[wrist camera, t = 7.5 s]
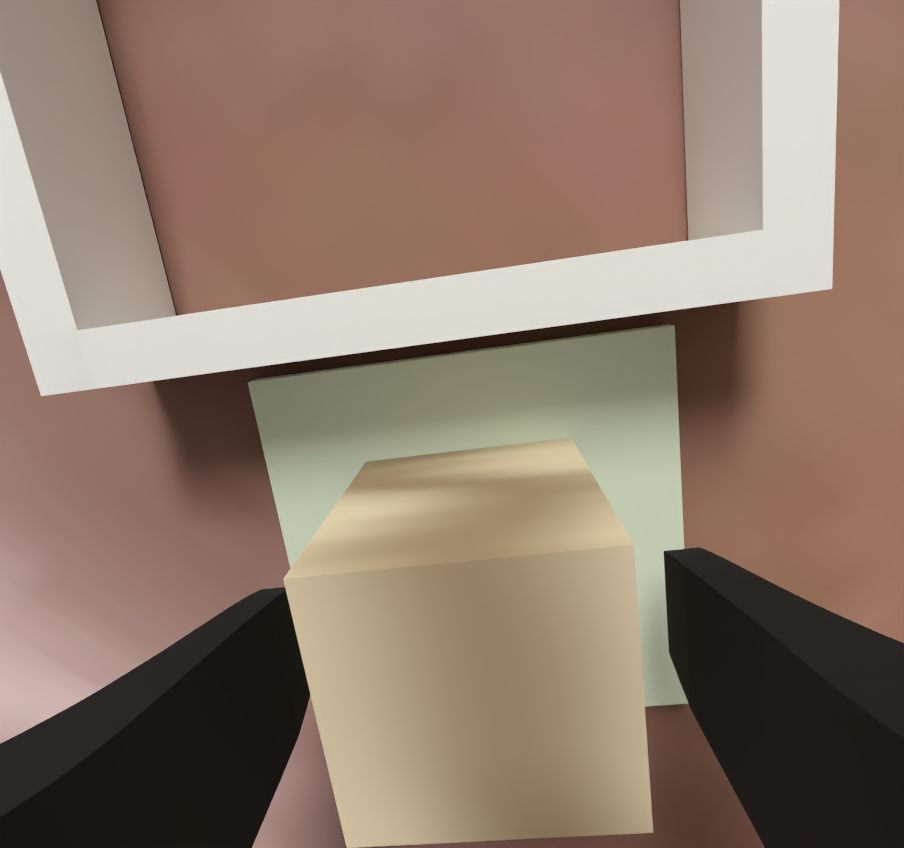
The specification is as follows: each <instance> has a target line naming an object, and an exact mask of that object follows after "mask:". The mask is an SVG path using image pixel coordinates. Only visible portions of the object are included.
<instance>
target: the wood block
mask: <svg viewBox="0 0 904 848" xmlns="http://www.w3.org/2000/svg"><path fill="white" fill-rule="evenodd" d="M283 580H284V585H285V589H286V593H287V597H288V602H289V606H290V610H291V614H292V619H293V623H294V627H295V631H296V636H297V640H298V644H299V648H300V652H301V657H302V661H303V665H304V669H305V674H306V678H307V682H308V686H309V691H310V695H311V699H312V703H313V708H314V712H315V716H316V720H317V724H318V729H319V733H320V737H321V741H322V746H323V750H324V754H325V758H326V763H327V767H328V771H329V775H330V780H331V784H332V788H333V792H334V797H335V801H336V805H337V809H338V813H339V818H340V822H341V826H342V830H343V835H344V839H345V843H346V847H347V848H357V847H377V846H397V845H417V844H437V843H457V842H477V841H497V840H517V839H537V838H558V837H578V836H598V835H618V834H638V833H653V821H652V807H651V792H650V777H649V762H648V747H647V732H646V717H645V702H644V688H643V673H642V658H641V643H640V628H639V613H638V598H637V583H636V568H635V554H634V544H633V542H632V541H631V539H630V537H629V536H628V534H627V532H626V530H625V529H624V527H623V525H622V524H621V522H620V520H619V518H618V517H617V515H616V513H615V512H614V510H613V508H612V507H611V505H610V503H609V501H608V500H607V498H606V496H605V495H604V493H603V491H602V490H601V488H600V486H599V484H598V483H597V481H596V479H595V478H594V476H593V474H592V472H591V471H590V469H589V467H588V466H587V464H586V462H585V461H584V459H583V457H582V455H581V454H580V452H579V450H578V449H577V447H576V445H575V444H574V442H573V440H572V438H562V439H554V440H545V441H537V442H528V443H520V444H511V445H503V446H494V447H486V448H477V449H469V450H461V451H452V452H444V453H435V454H427V455H418V456H410V457H401V458H393V459H384V460H376V461H367V462H365V464H364V465H363V467H362V468H361V469H360V471H359V472H358V474H357V475H356V476H355V478H354V479H353V481H352V482H351V484H350V485H349V486H348V488H347V489H346V491H345V492H344V494H343V495H342V496H341V498H340V499H339V501H338V502H337V503H336V505H335V506H334V508H333V509H332V511H331V512H330V513H329V515H328V516H327V518H326V519H325V521H324V522H323V523H322V525H321V526H320V528H319V529H318V530H317V532H316V533H315V535H314V536H313V538H312V539H311V540H310V542H309V543H308V545H307V546H306V548H305V549H304V550H303V552H302V553H301V555H300V556H299V558H298V559H297V560H296V562H295V563H294V565H293V566H292V567H291V569H290V570H289V572H288V573H287V575H286V576H285V577H284V579H283Z"/></svg>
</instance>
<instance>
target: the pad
mask: <svg viewBox="0 0 904 848" xmlns="http://www.w3.org/2000/svg"><path fill="white" fill-rule="evenodd" d="M248 386H249V391H250V395H251V399H252V404H253V408H254V412H255V417H256V421H257V425H258V430H259V434H260V438H261V443H262V447H263V451H264V456H265V460H266V464H267V469H268V473H269V477H270V482H271V486H272V491H273V495H274V499H275V504H276V508H277V512H278V517H279V521H280V525H281V530H282V534H283V538H284V543H285V547H286V551H287V556H288V560H289V564H290V569H291V567H292V566H293V565H294V563H295V562H296V560H297V559H298V558H299V556H300V555H301V553H302V552H303V550H304V549H305V548H306V546H307V545H308V543H309V542H310V540H311V539H312V538H313V536H314V535H315V533H316V532H317V530H318V529H319V528H320V526H321V525H322V523H323V522H324V521H325V519H326V518H327V516H328V515H329V513H330V512H331V511H332V509H333V508H334V506H335V505H336V503H337V502H338V501H339V499H340V498H341V496H342V495H343V494H344V492H345V491H346V489H347V488H348V486H349V485H350V484H351V482H352V481H353V479H354V478H355V476H356V475H357V474H358V472H359V471H360V469H361V468H362V467H363V465H364V464H365V462H367V461H376V460H384V459H393V458H401V457H410V456H418V455H427V454H435V453H444V452H452V451H461V450H469V449H477V448H486V447H494V446H503V445H511V444H520V443H528V442H537V441H545V440H554V439H562V438H572V440H573V442H574V444H575V445H576V447H577V449H578V450H579V452H580V454H581V455H582V457H583V459H584V461H585V462H586V464H587V466H588V467H589V469H590V471H591V472H592V474H593V476H594V478H595V479H596V481H597V483H598V484H599V486H600V488H601V490H602V491H603V493H604V495H605V496H606V498H607V500H608V501H609V503H610V505H611V507H612V508H613V510H614V512H615V513H616V515H617V517H618V518H619V520H620V522H621V524H622V525H623V527H624V529H625V530H626V532H627V534H628V536H629V537H630V539H631V541H632V542H633V544H634V554H635V568H636V583H637V598H638V613H639V628H640V643H641V658H642V673H643V688H644V702H645V707H646V706H660V705H674V704H689V703H688V701H687V698H686V696H685V693H684V691H683V688H682V686H681V683H680V681H679V678H678V675H677V673H676V670H675V667H674V665H673V662H672V660H671V657H670V654H669V646H668V626H667V607H666V588H665V569H664V551H669V550H679V549H684V534H683V510H682V486H681V462H680V439H679V415H678V391H677V367H676V344H675V326H674V325H669V324H664V325H656V326H649V327H641V328H634V329H626V330H619V331H611V332H604V333H596V334H589V335H581V336H574V337H566V338H559V339H551V340H544V341H536V342H529V343H521V344H514V345H506V346H499V347H491V348H484V349H476V350H469V351H461V352H454V353H446V354H439V355H431V356H424V357H417V358H409V359H402V360H394V361H387V362H379V363H372V364H364V365H357V366H349V367H342V368H334V369H327V370H319V371H312V372H304V373H297V374H289V375H282V376H274V377H267V378H259V379H255V380H253V381H250V382H248Z"/></svg>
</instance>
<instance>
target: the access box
mask: <svg viewBox="0 0 904 848" xmlns="http://www.w3.org/2000/svg"><path fill="white" fill-rule="evenodd" d="M680 19H681V48H682V76H683V105H684V133H685V162H686V190H687V219H688V241H682V242H675V243H668V244H662V245H655V246H648V247H641V248H634V249H628V250H621V251H614V252H607V253H600V254H594V255H587V256H580V257H573V258H566V259H559V260H553V261H546V262H539V263H532V264H525V265H519V266H512V267H505V268H498V269H491V270H485V271H478V272H471V273H464V274H457V275H451V276H444V277H437V278H430V279H423V280H416V281H410V282H403V283H396V284H389V285H382V286H376V287H369V288H362V289H355V290H348V291H342V292H335V293H328V294H321V295H314V296H308V297H301V298H294V299H287V300H280V301H274V302H267V303H260V304H253V305H246V306H239V307H233V308H226V309H219V310H212V311H205V312H199V313H192V314H185V315H178V316H176V313H175V309H174V305H173V301H172V297H171V293H170V289H169V285H168V282H167V278H166V274H165V270H164V266H163V262H162V258H161V254H160V250H159V246H158V242H157V238H156V234H155V230H154V226H153V222H152V218H151V215H150V211H149V207H148V203H147V199H146V195H145V191H144V187H143V183H142V179H141V175H140V171H139V167H138V163H137V159H136V155H135V152H134V148H133V144H132V140H131V136H130V132H129V128H128V124H127V120H126V116H125V112H124V108H123V104H122V100H121V96H120V92H119V88H118V85H117V81H116V77H115V73H114V69H113V65H112V61H111V57H110V53H109V49H108V45H107V41H106V37H105V33H104V29H103V25H102V22H101V18H100V14H99V10H98V6H97V2H96V0H0V270H1V273H2V276H3V279H4V282H5V285H6V288H7V291H8V295H9V298H10V301H11V304H12V307H13V310H14V313H15V316H16V319H17V322H18V326H19V329H20V332H21V335H22V338H23V341H24V344H25V347H26V350H27V353H28V357H29V360H30V363H31V366H32V369H33V372H34V375H35V378H36V381H37V385H38V388H39V391H40V394H41V396H46V395H53V394H61V393H68V392H75V391H83V390H90V389H97V388H105V387H112V386H119V385H127V384H134V383H142V382H149V381H156V380H164V379H171V378H178V377H186V376H193V375H201V374H208V373H215V372H223V371H230V370H237V369H245V368H252V367H260V366H267V365H274V364H282V363H289V362H296V361H304V360H311V359H319V358H326V357H333V356H341V355H348V354H355V353H363V352H370V351H378V350H385V349H392V348H400V347H407V346H414V345H422V344H429V343H437V342H444V341H451V340H459V339H466V338H473V337H481V336H488V335H496V334H503V333H510V332H518V331H525V330H532V329H540V328H547V327H554V326H562V325H569V324H577V323H584V322H591V321H599V320H606V319H613V318H621V317H628V316H636V315H643V314H650V313H658V312H665V311H672V310H680V309H687V308H695V307H702V306H709V305H717V304H724V303H731V302H739V301H746V300H754V299H761V298H768V297H776V296H783V295H790V294H798V293H805V292H813V291H820V290H827V289H832V275H833V234H834V194H835V153H836V113H837V72H838V32H839V0H680Z"/></svg>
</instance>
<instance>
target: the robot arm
mask: <svg viewBox="0 0 904 848" xmlns="http://www.w3.org/2000/svg"><path fill="white" fill-rule="evenodd" d="M664 569H665V588H666V607H667V626H668V646H669V654H670V657H671V660H672V662H673V665H674V667H675V670H676V673H677V675H678V678H679V681H680V683H681V686H682V688H683V691H684V693H685V696H686V698H687V701H688V703H689V706H690V708H691V710H692V712H693V714H694V716H695V718H696V720H697V722H698V723H699V725H700V727H701V729H702V731H703V733H704V735H705V737H706V739H707V740H708V742H709V744H710V746H711V748H712V750H713V752H714V754H715V755H716V757H717V759H718V761H719V763H720V765H721V767H722V768H723V770H724V772H725V774H726V776H727V778H728V780H729V781H730V783H731V785H732V787H733V789H734V791H735V793H736V794H737V796H738V798H739V800H740V802H741V804H742V806H743V807H744V809H745V811H746V813H747V815H748V817H749V819H750V820H751V822H752V824H753V826H754V828H755V830H756V832H757V833H758V835H759V837H760V839H761V841H762V843H763V845H764V847H765V848H904V643H902V642H899V641H897V640H894V639H892V638H889V637H887V636H885V635H882V634H880V633H878V632H875V631H873V630H871V629H868V628H866V627H864V626H862V625H859V624H857V623H855V622H853V621H850V620H848V619H846V618H844V617H841V616H839V615H837V614H835V613H832V612H830V611H828V610H826V609H824V608H822V607H820V606H818V605H815V604H813V603H811V602H809V601H807V600H805V599H803V598H801V597H799V596H797V595H795V594H793V593H791V592H789V591H787V590H785V589H783V588H781V587H779V586H777V585H775V584H773V583H771V582H769V581H767V580H765V579H763V578H761V577H759V576H757V575H755V574H753V573H751V572H749V571H747V570H746V569H744V568H742V567H740V566H738V565H736V564H734V563H732V562H730V561H728V560H726V559H724V558H722V557H720V556H718V555H716V554H714V553H711V552H709V551H707V550H704V549H702V548H690V549H679V550H669V551H664ZM309 697H310V691H309V686H308V682H307V678H306V674H305V669H304V665H303V661H302V657H301V652H300V648H299V644H298V640H297V636H296V631H295V627H294V623H293V619H292V614H291V610H290V606H289V602H288V597H287V593H286V589H285V587H282V588H272V589H261V590H259V591H257V592H255V593H253V594H251V595H249V596H248V597H246V598H244V599H242V600H241V601H239V602H237V603H236V604H234V605H233V606H231V607H229V608H228V609H226V610H225V611H223V612H222V613H220V614H218V615H217V616H215V617H214V618H212V619H211V620H209V621H208V622H206V623H205V624H203V625H202V626H200V627H199V628H197V629H196V630H194V631H193V632H191V633H190V634H188V635H186V636H185V637H183V638H182V639H180V640H179V641H177V642H176V643H174V644H173V645H171V646H170V647H168V648H167V649H165V650H164V651H162V652H161V653H159V654H157V655H156V656H154V657H152V658H151V659H149V660H148V661H146V662H144V663H143V664H141V665H140V666H138V667H136V668H135V669H133V670H131V671H130V672H128V673H127V674H125V675H123V676H122V677H120V678H118V679H117V680H115V681H114V682H112V683H110V684H109V685H107V686H106V687H104V688H102V689H101V690H99V691H97V692H96V693H94V694H92V695H90V696H89V697H87V698H85V699H84V700H82V701H80V702H78V703H76V704H75V705H73V706H71V707H69V708H68V709H66V710H64V711H62V712H60V713H58V714H57V715H55V716H53V717H51V718H49V719H47V720H45V721H43V722H41V723H40V724H38V725H36V726H34V727H32V728H30V729H28V730H26V731H25V732H23V733H21V734H19V735H17V736H15V737H13V738H11V739H9V740H7V741H5V742H3V743H1V744H0V848H252V846H253V843H254V841H255V839H256V836H257V834H258V832H259V829H260V827H261V824H262V822H263V820H264V817H265V815H266V813H267V810H268V808H269V806H270V803H271V801H272V799H273V796H274V794H275V791H276V789H277V787H278V784H279V782H280V780H281V777H282V775H283V772H284V770H285V768H286V765H287V763H288V760H289V758H290V756H291V753H292V751H293V748H294V746H295V743H296V741H297V738H298V736H299V733H300V729H301V726H302V723H303V719H304V716H305V712H306V709H307V705H308V701H309Z"/></svg>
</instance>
